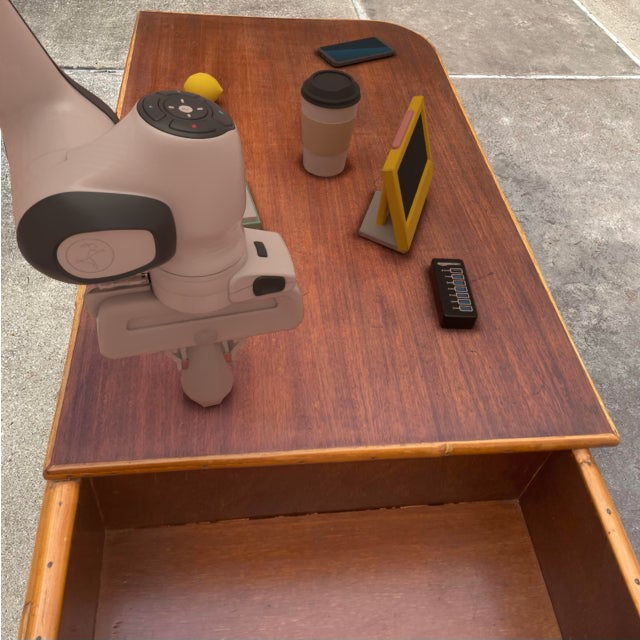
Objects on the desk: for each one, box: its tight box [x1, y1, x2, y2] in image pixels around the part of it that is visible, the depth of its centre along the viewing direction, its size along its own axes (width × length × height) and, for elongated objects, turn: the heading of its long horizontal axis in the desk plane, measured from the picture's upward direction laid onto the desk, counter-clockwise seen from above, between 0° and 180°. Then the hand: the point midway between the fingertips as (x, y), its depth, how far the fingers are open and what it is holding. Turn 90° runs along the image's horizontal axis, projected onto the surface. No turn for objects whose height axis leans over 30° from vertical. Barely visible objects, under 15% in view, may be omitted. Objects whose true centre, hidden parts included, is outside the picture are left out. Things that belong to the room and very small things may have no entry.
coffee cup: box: [300, 68, 362, 178], centre depth 100 cm, size 9×9×15 cm
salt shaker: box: [180, 329, 235, 408], centre depth 68 cm, size 6×6×13 cm
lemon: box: [183, 72, 224, 103], centre depth 113 cm, size 7×5×5 cm
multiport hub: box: [428, 257, 479, 330], centre depth 86 cm, size 4×11×2 cm, turn 2°
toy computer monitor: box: [358, 94, 435, 255], centre depth 91 cm, size 20×8×16 cm, turn 163°
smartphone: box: [317, 36, 395, 68], centre depth 133 cm, size 8×15×1 cm, turn 121°
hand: (206, 361), depth 69 cm, fingers closed on salt shaker, 3 cm apart
